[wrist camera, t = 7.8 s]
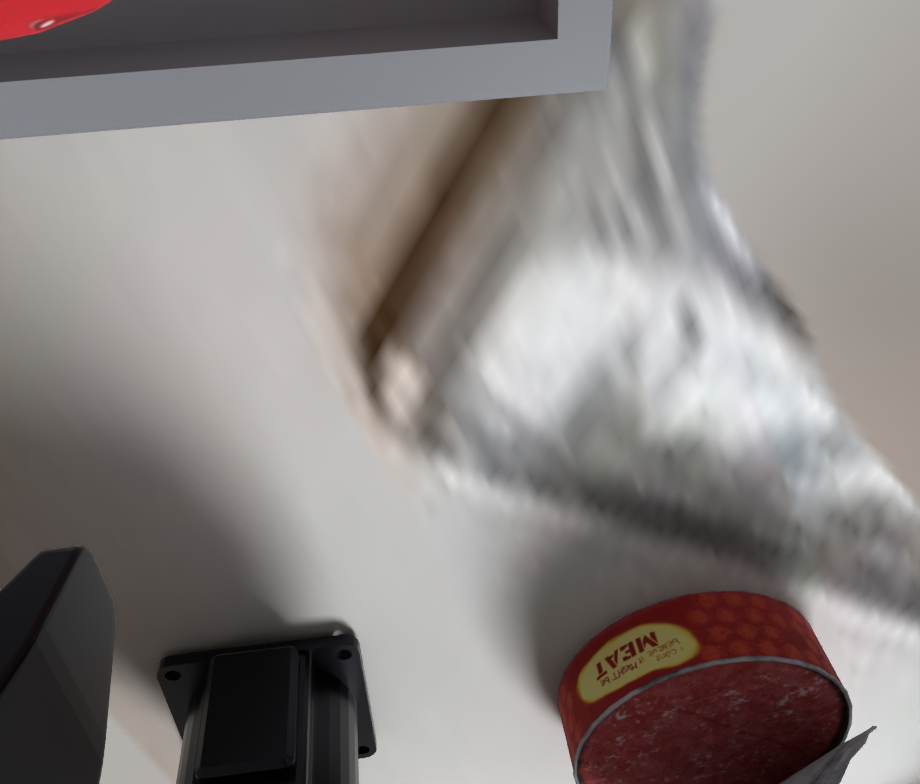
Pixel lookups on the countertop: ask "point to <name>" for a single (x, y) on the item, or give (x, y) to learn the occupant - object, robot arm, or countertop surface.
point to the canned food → (707, 697)
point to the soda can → (41, 15)
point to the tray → (293, 59)
